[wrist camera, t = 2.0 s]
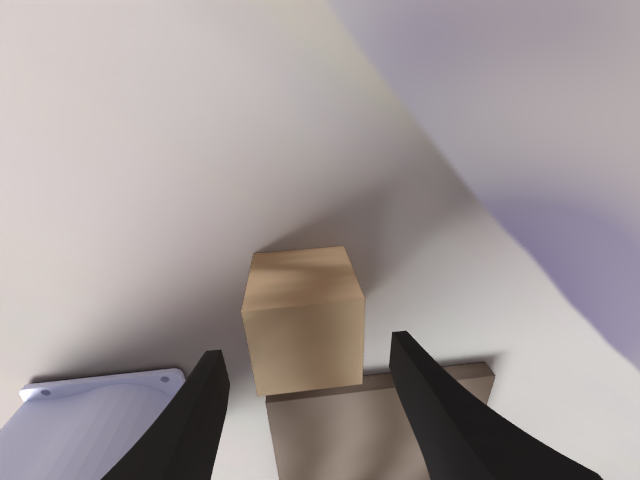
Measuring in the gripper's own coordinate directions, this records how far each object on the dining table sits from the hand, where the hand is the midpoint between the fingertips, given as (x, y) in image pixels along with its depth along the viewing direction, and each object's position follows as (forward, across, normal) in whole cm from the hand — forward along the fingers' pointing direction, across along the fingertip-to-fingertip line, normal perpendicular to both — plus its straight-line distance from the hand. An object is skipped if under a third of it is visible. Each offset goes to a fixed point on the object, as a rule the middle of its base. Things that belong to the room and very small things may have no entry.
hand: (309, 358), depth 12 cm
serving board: (+5, -5, +15) cm, 17 cm away
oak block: (+5, 0, 0) cm, 5 cm away
